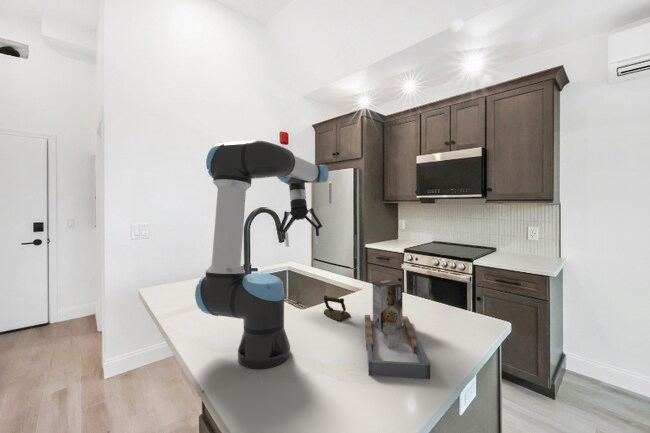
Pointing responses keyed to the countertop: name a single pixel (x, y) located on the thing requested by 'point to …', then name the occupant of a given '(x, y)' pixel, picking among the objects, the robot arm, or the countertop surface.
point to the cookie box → (387, 303)
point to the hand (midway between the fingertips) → (301, 245)
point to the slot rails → (407, 327)
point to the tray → (399, 365)
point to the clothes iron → (333, 313)
